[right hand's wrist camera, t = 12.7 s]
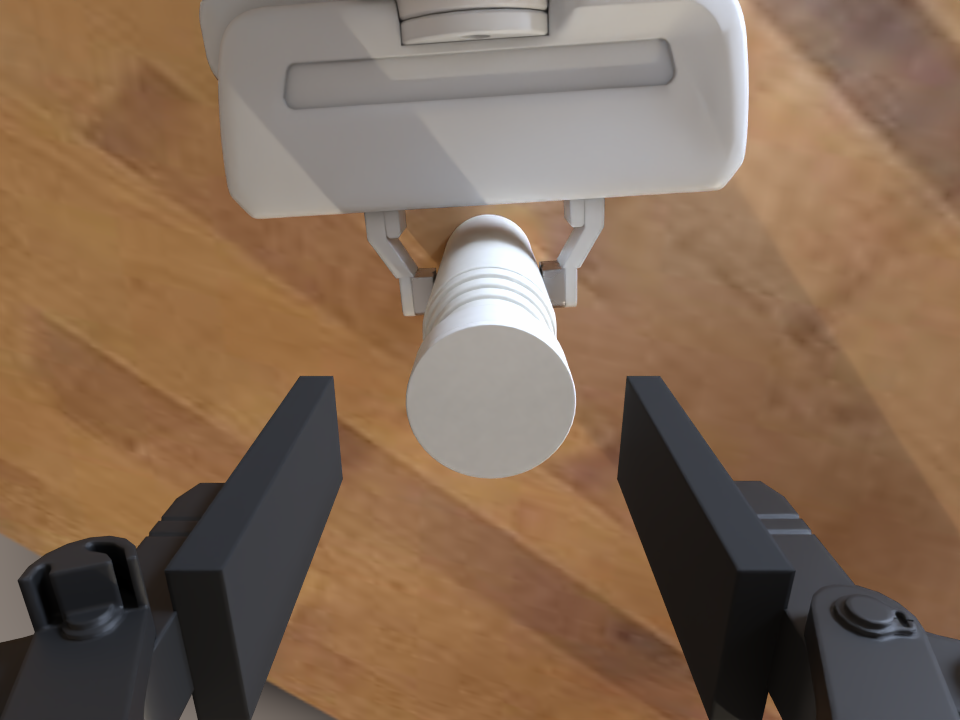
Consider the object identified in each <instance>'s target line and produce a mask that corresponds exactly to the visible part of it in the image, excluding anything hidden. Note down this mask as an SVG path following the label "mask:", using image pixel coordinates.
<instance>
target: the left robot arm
mask: <svg viewBox="0 0 960 720" xmlns="http://www.w3.org/2000/svg"><path fill="white" fill-rule="evenodd" d="M199 17H200V25H201V30H202V35H203V40H204V46H205V51H206V56H207V60H208V63H209V65H210V68H211V70H212V72H213V74H214V76H215V77H216V79H217V80H218V95H219V117H220V131H221V142H222V151H223V159H224V166H225V174H226V180H227V186H228V190H229V193H230V195H231V197H232V198H233V199H234V200H235V201H236V202H237V203H238V204H239V205H240V206H241V207H242V208H243V209H244V210H245V211H246V212H247V213H248V214H249V215H250V216H251V217H253V218H256V219H266V218H282V217H298V216H315V215H331V214H347V213H363V212H364V215H365V223H366V231H367V239H368V241H369V243H370V244H371V245H372V247H373V248H374V249H375V251H376V252H377V254H378V255H379V256H380V258H381V259H382V260H383V262H384V263H385V264H386V266H387V267H388V268H389V270H390V271H391V272H392V274H393V275H394V276H395V278H399V283H400V292H401V301H402V310H403V314H404V316H415V315H424V314H425V311H426V308H427V304H428V301H429V298H430V295H431V292H432V289H433V286H434V282H435V279H436V276H437V273H436V268H419V269H418V267H417V265H416V264H415V262H414V261H413V259H412V258H411V256H410V255H409V253H408V252H407V250H406V249H405V247H404V246H403V244H402V243H401V242H400V240H399V239H398V238H399V236H400V235H401V234H402V232H403V231H404V230H405V229H406V216H405V210H412V209H428V208H445V207H461V206H477V205H493V204H510V203H526V202H542V201H558V200H564V218H565V219H566V220H567V222H568V223H569V224H570V225H571V226H572V227H574V228H573V230H572V232H571V234H570V236H569V238H568V240H567V241H566V243H565V245H564V247H563V249H562V251H561V253H560V255H559V257H558V258H557V260H556V261H543V262H539V271H540V274H541V276H542V279H543V282H544V285H545V288H546V290H547V293H548V296H549V299H550V301H551V304H552V307H553V308H561V307H576V305H577V268H580V267H581V265H582V263H583V262H584V260H585V258H586V256H587V255H588V253H589V251H590V250H591V248H592V246H593V244H594V243H595V241H596V239H597V238H598V236H599V234H600V232H601V231H602V229H603V227H604V198H607V197H623V196H639V195H656V194H672V193H688V192H704V191H717V190H720V189H722V188H723V187H724V186H725V185H726V184H727V183H728V182H729V180H730V179H731V178H732V177H733V175H734V174H735V173H736V171H737V170H738V169H739V167H740V166H741V165H742V162H743V160H744V156H745V149H746V141H747V127H748V93H749V88H748V54H747V37H746V27H745V22H744V17H743V13H742V10H741V7H740V4H739V2H738V0H202V1H201V4H200V10H199Z"/></svg>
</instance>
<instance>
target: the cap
mask: <svg viewBox="0 0 960 720" xmlns="http://www.w3.org/2000/svg"><path fill="white" fill-rule="evenodd" d="M575 408H576V393H575V387H574V382H573V379H572V376H571V373H570V370H569V367H568V364H567V361H566V358H565V355H564V352H563V350H562V348H561V346H560V344H559V342H558V341H557V339H556V338H555V336H554V335H553V334H552V332H551V331H550V330H549V329H548V328H547V327H546V326H545V325H544V324H542V323H541V322H540V321H539V320H537V319H536V318H534V317H533V316H531V315H529V314H527V313H525V312H523V311H520V310H517V309H514V308H511V307H506V306H500V305H482V306H475V307H470V308H467V309H464V310H461V311H458V312H456V313H454V314H452V315H450V316H448V317H447V318H445V319H444V320H442V321H441V322H440V323H439V324H438V325H436V326H435V327H434V328H433V329H432V330H431V331H430V333H429V334H428V335H427V336H426V338H425V339H424V341H423V342H422V344H421V346H420V348H419V350H418V352H417V355H416V358H415V362H414V365H413V368H412V372H411V375H410V378H409V382H408V386H407V392H406V410H407V416H408V420H409V424H410V426H411V429H412V431H413V433H414V435H415V437H416V438H417V440H418V442H419V443H420V444H421V446H422V447H423V448H424V449H425V451H426V452H427V453H428V454H430V455H431V456H432V457H433V458H434V459H435V460H437V461H438V462H439V463H441V464H442V465H444V466H446V467H447V468H449V469H451V470H454V471H456V472H458V473H461V474H464V475H468V476H472V477H478V478H503V477H509V476H514V475H517V474H520V473H523V472H526V471H528V470H530V469H532V468H534V467H536V466H538V465H539V464H541V463H542V462H544V461H545V460H546V459H548V458H549V457H550V456H551V455H552V454H553V453H554V452H555V451H556V450H557V449H558V448H559V446H560V445H561V444H562V443H563V441H564V439H565V438H566V436H567V434H568V432H569V430H570V428H571V425H572V422H573V419H574V415H575Z"/></svg>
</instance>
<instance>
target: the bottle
mask: <svg viewBox="0 0 960 720" xmlns="http://www.w3.org/2000/svg"><path fill="white" fill-rule="evenodd" d="M482 305H500V306H506V307H511V308H514V309H517V310H520V311H523V312H525V313H527V314H529V315H531V316H533V317H534V318H536V319H537V320H539V321H540V322H541V323H542V324H544V325H545V326H546V327H547V328H548V329H549V330H550V331H551V332H552V334H553V335H554V336H555V338H557V336H556V319H555V313H554V310H553V307H552V304H551V301H550V299H549V296H548V293H547V290H546V288H545V285H544V282H543V279H542V276H541V274H540V271H539V268H538V265H537V263H536V260H535V257H534V254H533V252H532V249H531V246H530V243H529V241H528V239H527V237H526V235H525V234H524V232H523V231H522V230H521V229H520V228H519V227H518V226H517V225H516V224H515V223H513V222H512V221H510V220H508V219H506V218H504V217H501V216H497V215H480V216H476V217H473V218H470V219H468V220H466V221H465V222H463V223H462V224H460V225H459V226H458V227H457V228H456V229H455V230H454V232H453V233H452V234H451V236H450V238H449V240H448V242H447V245H446V248H445V251H444V254H443V257H442V260H441V264H440V267H439V270H438V273H437V276H436V279H435V282H434V286H433V289H432V292H431V295H430V298H429V301H428V304H427V308H426V311H425V314H424V319H423V341H424V339H425V338H426V336H427V335H428V334H429V333H430V331H431V330H432V329H433V328H434V327H435V326H436V325H438V324H439V323H440V322H441V321H442V320H444V319H445V318H447V317H448V316H450V315H452V314H454V313H456V312H458V311H461V310H464V309H467V308H470V307H475V306H482Z"/></svg>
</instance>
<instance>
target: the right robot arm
mask: <svg viewBox="0 0 960 720" xmlns="http://www.w3.org/2000/svg"><path fill="white" fill-rule="evenodd" d="M342 480H343V477H342V466H341V455H340V444H339V433H338V423H337V412H336V401H335V390H334V379H333V376H300V377H299V378H298V380H297V381H296V383H295V384H294V386H293V387H292V388H291V390H290V391H289V393H288V394H287V396H286V397H285V398H284V400H283V401H282V403H281V404H280V406H279V407H278V408H277V410H276V411H275V413H274V414H273V416H272V417H271V418H270V420H269V421H268V423H267V424H266V426H265V427H264V428H263V430H262V431H261V433H260V434H259V436H258V437H257V438H256V440H255V441H254V443H253V444H252V446H251V447H250V448H249V450H248V451H247V453H246V454H245V456H244V457H243V458H242V460H241V461H240V463H239V464H238V466H237V467H236V469H235V470H234V471H233V473H232V474H231V476H230V477H229V479H228V480H227V481H226V483H199V484H198V485H196V486H195V487H193V488H192V489H190V490H189V491H187V492H186V493H184V494H183V495H181V496H180V497H178V498H177V499H176V500H175V501H174V502H173V504H172V505H171V506H170V507H169V509H168V510H167V511H166V512H165V514H164V515H163V516H162V520H161V521H158V522H157V524H156V525H155V526H154V527H153V529H152V530H151V531H150V532H149V537H145V539H144V540H143V541H142V542H141V544H140V545H139V546H138V547H137V549H136V547H135V545H133V544H132V543H131V542H129V541H128V540H127V539H125V538H119V537H114V536H103V537H91V538H87V539H83V540H79V541H76V542H72V543H69V544H66V545H64V546H62V547H60V548H58V549H55V550H53V551H51V552H49V553H47V554H45V555H44V556H43V557H41V558H40V559H38V560H37V561H36V562H34V563H33V564H31V565H30V566H29V567H28V568H27V569H26V570H25V572H24V573H23V574H22V576H21V577H20V578H19V579H18V583H19V586H20V589H21V592H22V595H23V598H24V601H25V604H26V607H27V610H28V613H29V616H30V619H31V622H32V625H33V628H34V631H35V633H34V635H31V636H27V637H24V638H19V639H15V640H10V641H6V642H1V643H0V720H179V719H180V717H181V715H182V713H183V711H184V709H185V707H186V705H187V703H188V701H189V699H190V697H191V695H193V700H194V704H195V709H196V713H197V718H198V720H251V718H252V716H253V713H254V710H255V708H256V705H257V702H258V700H259V697H260V695H261V692H262V689H263V687H264V684H265V682H266V679H267V676H268V674H269V671H270V669H271V666H272V663H273V661H274V658H275V655H276V653H277V650H278V648H279V645H280V642H281V640H282V637H283V634H284V632H285V629H286V627H287V624H288V621H289V619H290V616H291V613H292V611H293V608H294V606H295V603H296V600H297V598H298V595H299V592H300V590H301V587H302V585H303V582H304V579H305V577H306V574H307V571H308V569H309V566H310V564H311V561H312V558H313V556H314V553H315V550H316V548H317V545H318V543H319V540H320V537H321V535H322V532H323V530H324V527H325V524H326V522H327V519H328V516H329V514H330V511H331V509H332V506H333V503H334V501H335V498H336V495H337V493H338V490H339V488H340V485H341V482H342ZM617 480H618V482H619V485H620V488H621V490H622V493H623V495H624V498H625V501H626V503H627V506H628V509H629V511H630V514H631V516H632V519H633V522H634V524H635V527H636V530H637V532H638V535H639V537H640V540H641V543H642V545H643V548H644V550H645V553H646V556H647V558H648V561H649V564H650V566H651V569H652V571H653V574H654V577H655V579H656V582H657V585H658V587H659V590H660V592H661V595H662V598H663V600H664V603H665V606H666V608H667V611H668V613H669V616H670V619H671V621H672V624H673V627H674V629H675V632H676V634H677V637H678V640H679V642H680V645H681V648H682V650H683V653H684V655H685V658H686V661H687V663H688V666H689V669H690V671H691V674H692V676H693V679H694V682H695V684H696V687H697V690H698V692H699V695H700V697H701V700H702V703H703V705H704V708H705V710H706V713H707V716H708V718H709V720H762V718H763V713H764V709H765V705H766V700H767V696H768V692H769V694H770V696H771V698H772V700H773V702H774V704H775V706H776V707H777V709H778V711H779V713H780V715H781V717H782V719H783V720H960V640H957V639H953V638H948V637H944V636H939V635H935V634H932V633H929V632H925V630H924V629H923V627H922V626H921V624H920V623H919V621H918V620H917V618H916V617H915V616H914V615H913V614H912V613H910V612H909V611H908V610H907V609H905V608H904V607H903V606H902V605H901V604H899V603H898V602H896V601H894V600H892V599H890V598H888V597H887V596H885V595H883V594H881V593H879V592H876V591H873V590H870V589H867V588H864V587H860V586H857V585H855V584H854V583H853V582H852V581H851V579H850V578H849V577H848V576H847V574H846V573H845V572H844V571H843V569H842V568H841V567H840V566H839V564H838V563H837V562H836V561H835V559H834V558H833V557H832V556H831V554H830V553H829V552H828V551H827V550H826V548H825V547H824V546H823V545H822V543H821V542H820V541H819V540H818V538H817V537H816V536H815V535H814V534H811V530H810V528H809V527H808V526H807V525H806V523H805V522H804V521H803V520H802V519H799V515H798V513H797V512H796V511H795V510H794V509H793V507H792V506H791V505H790V504H789V502H788V501H787V500H786V499H785V497H784V496H782V495H781V494H779V493H778V492H776V491H775V490H773V489H772V488H770V487H768V486H767V485H765V484H764V483H762V482H761V481H733V480H732V479H731V477H730V476H729V474H728V473H727V471H726V470H725V469H724V467H723V466H722V464H721V463H720V461H719V460H718V459H717V457H716V456H715V454H714V453H713V451H712V450H711V448H710V447H709V446H708V444H707V443H706V441H705V440H704V438H703V437H702V436H701V434H700V433H699V431H698V430H697V428H696V427H695V426H694V424H693V423H692V421H691V420H690V418H689V417H688V416H687V414H686V413H685V411H684V410H683V408H682V407H681V406H680V404H679V403H678V401H677V400H676V398H675V397H674V396H673V394H672V393H671V391H670V390H669V388H668V387H667V386H666V384H665V383H664V381H663V380H662V378H661V377H660V376H627V379H626V390H625V401H624V412H623V423H622V433H621V444H620V455H619V466H618V477H617Z"/></svg>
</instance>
